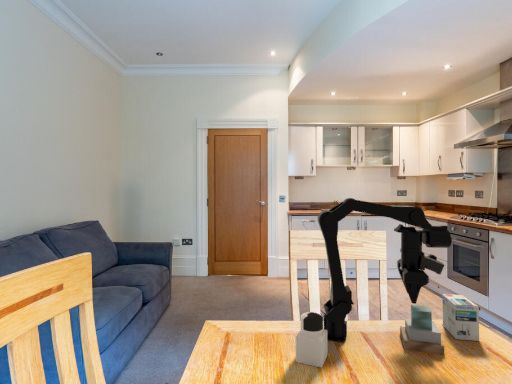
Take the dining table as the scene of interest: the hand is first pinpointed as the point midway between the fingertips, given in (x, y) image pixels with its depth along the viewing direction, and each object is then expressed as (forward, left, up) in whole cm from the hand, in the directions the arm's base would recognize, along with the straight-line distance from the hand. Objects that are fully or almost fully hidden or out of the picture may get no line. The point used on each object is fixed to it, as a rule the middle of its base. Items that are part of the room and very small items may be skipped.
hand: (411, 298), depth 94 cm
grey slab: (+3, -2, -10) cm, 11 cm away
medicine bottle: (-28, -19, -13) cm, 36 cm away
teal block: (+2, -2, -7) cm, 8 cm away
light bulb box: (+15, +10, -13) cm, 22 cm away
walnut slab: (+2, -2, -13) cm, 14 cm away
